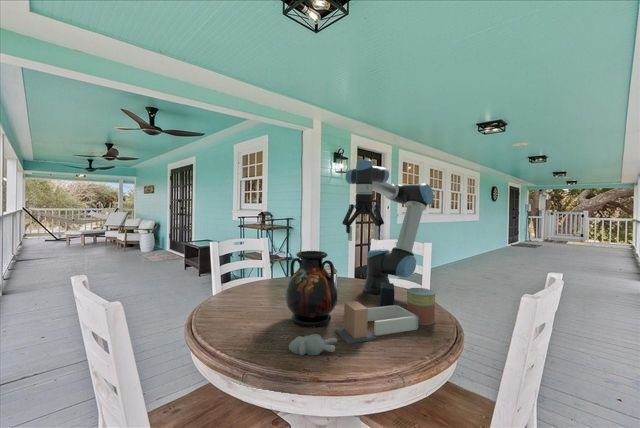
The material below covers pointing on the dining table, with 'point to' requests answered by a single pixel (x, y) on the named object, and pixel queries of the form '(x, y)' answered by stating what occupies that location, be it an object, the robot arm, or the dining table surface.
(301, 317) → the amphora vase
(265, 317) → the dining table surface
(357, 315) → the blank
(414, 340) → the dining table surface
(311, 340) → the bunny figurine
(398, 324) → the slot rack
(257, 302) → the dining table surface
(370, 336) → the slate mat
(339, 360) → the dining table surface
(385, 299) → the small box
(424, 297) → the canned food
